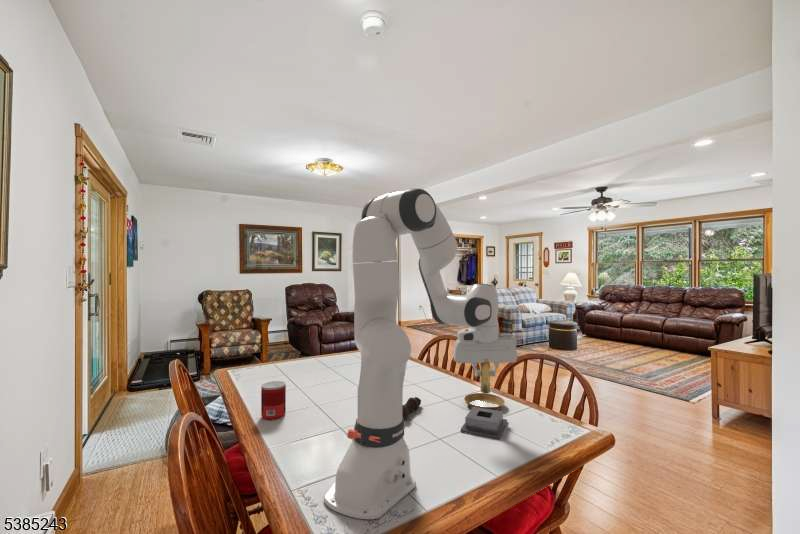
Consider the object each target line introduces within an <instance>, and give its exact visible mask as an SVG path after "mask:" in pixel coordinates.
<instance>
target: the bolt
mask: <svg viewBox="0 0 800 534" xmlns="http://www.w3.org/2000/svg"><path fill="white" fill-rule="evenodd" d="M421 404H422V400H421V398H419V397H417V396H415V397H409V398H408V399H407V400H406V403H405V404H402V417H403V418H404V422H406V421H407V419H408V418H409V416H410V414H411V412H417V411H418V409H419V408H420V406H421ZM405 420H406V421H405Z"/></svg>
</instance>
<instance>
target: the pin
mask: <svg viewBox="0 0 800 534" xmlns="http://www.w3.org/2000/svg"><path fill="white" fill-rule="evenodd" d="M484 362H485V363H479V364H480V365H479V367H480V369H479V370H480V376H479V377H480V393H487V394H491V376H490V370H491V363H487V362H489V359H484Z"/></svg>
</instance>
